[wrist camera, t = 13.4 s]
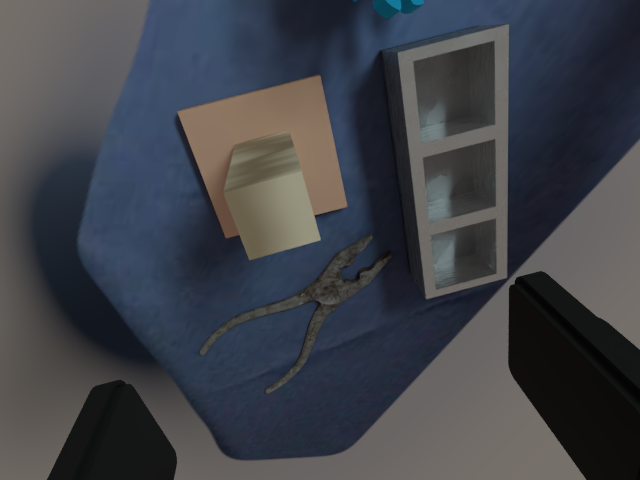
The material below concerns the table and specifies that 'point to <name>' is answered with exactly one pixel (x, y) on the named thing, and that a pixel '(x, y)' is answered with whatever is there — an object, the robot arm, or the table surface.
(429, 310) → the table surface
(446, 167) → the shelf
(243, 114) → the tile
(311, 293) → the pliers
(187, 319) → the table surface
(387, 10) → the gear
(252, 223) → the peg
